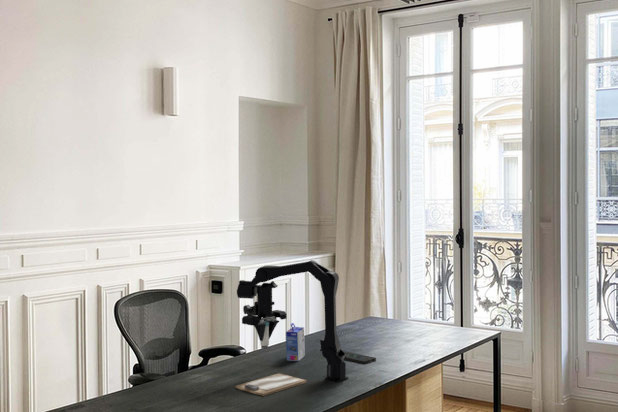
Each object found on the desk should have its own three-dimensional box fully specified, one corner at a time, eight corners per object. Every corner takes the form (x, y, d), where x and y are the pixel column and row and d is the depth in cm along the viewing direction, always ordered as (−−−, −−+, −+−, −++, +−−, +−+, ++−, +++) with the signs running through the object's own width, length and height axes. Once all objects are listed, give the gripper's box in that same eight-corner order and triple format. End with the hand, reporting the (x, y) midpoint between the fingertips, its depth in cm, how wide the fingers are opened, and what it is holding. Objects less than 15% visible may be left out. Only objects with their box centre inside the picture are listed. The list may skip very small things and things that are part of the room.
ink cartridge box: (292, 355, 292) (292, 321, 292) (305, 356, 291) (305, 321, 291) (285, 360, 283) (285, 325, 282) (298, 361, 281) (298, 326, 281)
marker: (270, 347, 263) (270, 321, 263) (264, 349, 261) (264, 323, 260) (264, 346, 266) (264, 320, 265) (258, 348, 263) (258, 321, 263)
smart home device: (364, 361, 278) (326, 353, 291) (364, 365, 278) (326, 357, 291) (376, 357, 284) (339, 349, 297) (376, 361, 284) (339, 353, 297)
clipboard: (306, 382, 252) (306, 377, 252) (263, 396, 235) (263, 390, 235) (279, 375, 261) (279, 370, 261) (235, 388, 245) (235, 383, 245)
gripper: (267, 294, 275) (267, 333, 275) (232, 299, 261) (232, 340, 261) (287, 297, 267) (287, 337, 268) (252, 303, 254) (252, 345, 254)
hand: (264, 340), depth 263 cm, fingers closed on marker, 3 cm apart
